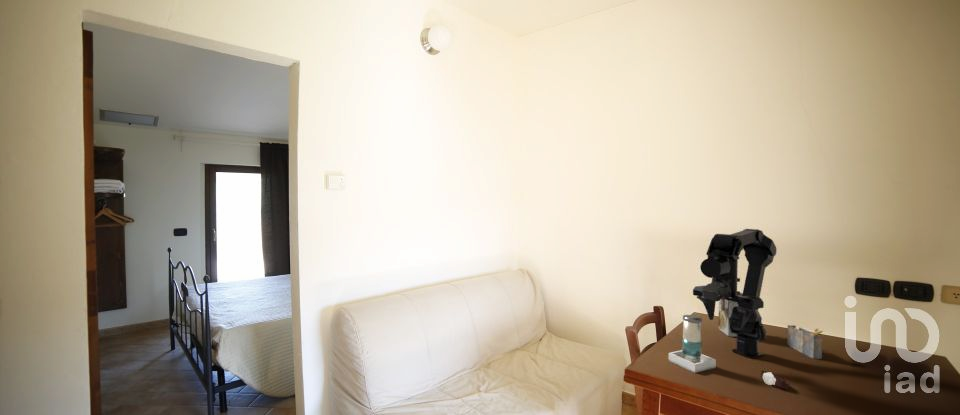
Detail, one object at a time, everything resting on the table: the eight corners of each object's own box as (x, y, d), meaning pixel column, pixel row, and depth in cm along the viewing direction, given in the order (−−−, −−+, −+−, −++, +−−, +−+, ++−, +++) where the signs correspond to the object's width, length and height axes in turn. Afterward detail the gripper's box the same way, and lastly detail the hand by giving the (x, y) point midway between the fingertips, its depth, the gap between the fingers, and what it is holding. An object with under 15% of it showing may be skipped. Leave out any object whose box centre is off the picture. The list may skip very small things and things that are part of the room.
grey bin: (688, 356, 123) (688, 348, 123) (715, 367, 114) (715, 359, 114) (668, 360, 119) (668, 352, 119) (694, 372, 111) (694, 364, 111)
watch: (755, 378, 108) (755, 366, 108) (769, 377, 108) (770, 365, 108) (779, 392, 100) (779, 378, 100) (794, 391, 101) (795, 378, 101)
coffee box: (746, 338, 140) (747, 295, 139) (727, 336, 141) (728, 294, 141) (735, 329, 148) (736, 289, 148) (717, 328, 150) (718, 288, 149)
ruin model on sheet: (823, 360, 121) (823, 330, 121) (813, 359, 121) (813, 330, 121) (796, 346, 132) (796, 319, 132) (787, 346, 133) (787, 319, 132)
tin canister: (694, 358, 119) (695, 314, 119) (704, 365, 114) (705, 319, 114) (678, 358, 119) (679, 314, 119) (688, 365, 114) (689, 320, 114)
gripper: (681, 270, 121) (680, 318, 121) (740, 282, 104) (739, 337, 104) (704, 268, 125) (704, 314, 126) (765, 279, 108) (764, 332, 108)
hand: (725, 324), depth 116 cm, fingers open, 9 cm apart
